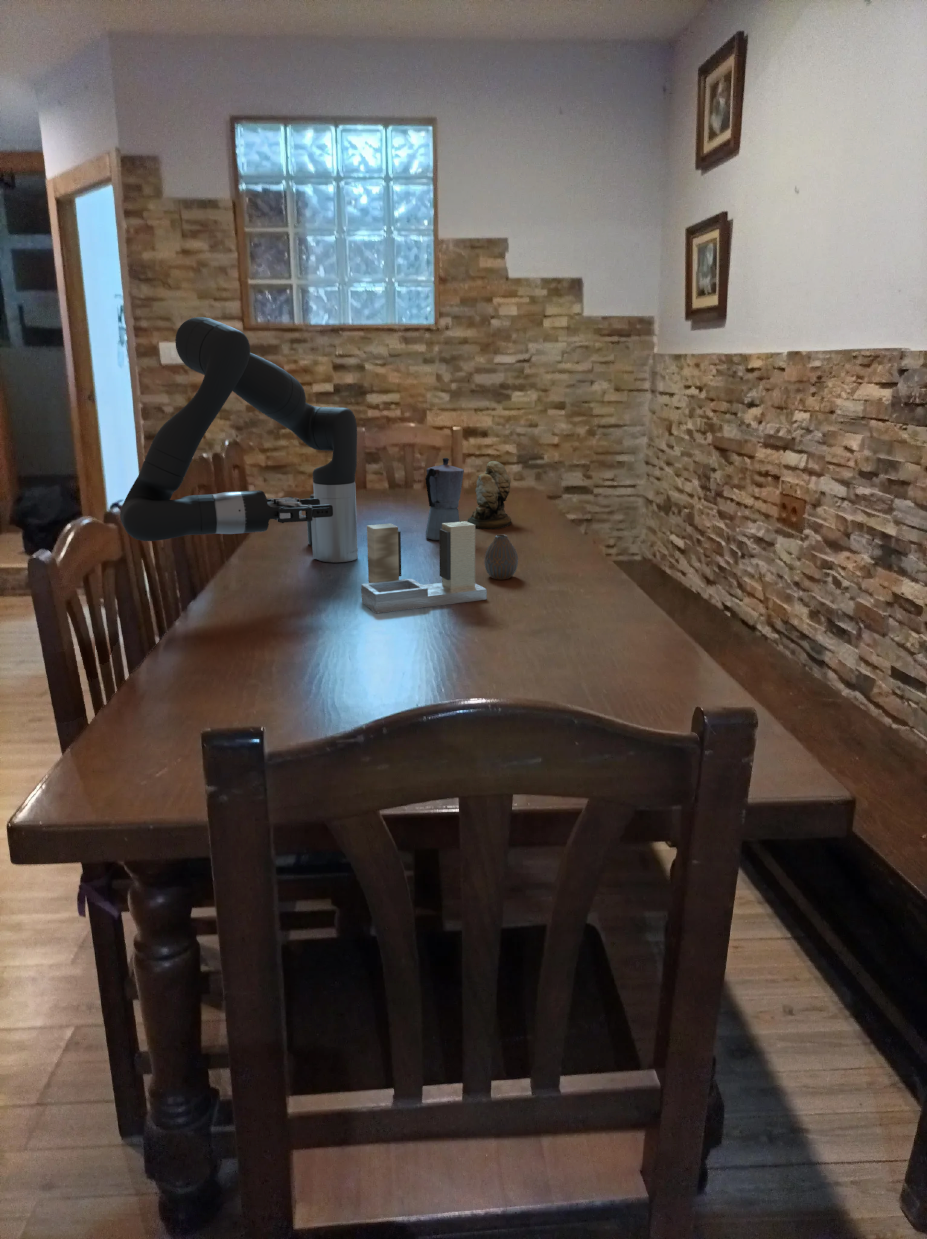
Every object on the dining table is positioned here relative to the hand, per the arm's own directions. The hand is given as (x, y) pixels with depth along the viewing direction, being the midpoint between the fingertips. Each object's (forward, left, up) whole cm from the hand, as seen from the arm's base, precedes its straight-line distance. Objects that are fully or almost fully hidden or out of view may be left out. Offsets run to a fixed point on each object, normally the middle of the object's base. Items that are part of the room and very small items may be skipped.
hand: (325, 507), depth 163 cm
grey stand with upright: (+20, +2, -16) cm, 26 cm away
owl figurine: (0, +80, -17) cm, 82 cm away
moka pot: (-2, +55, -17) cm, 58 cm away
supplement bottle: (-26, +37, -17) cm, 48 cm away
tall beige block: (+7, +9, -17) cm, 20 cm away
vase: (+26, +25, -17) cm, 40 cm away
